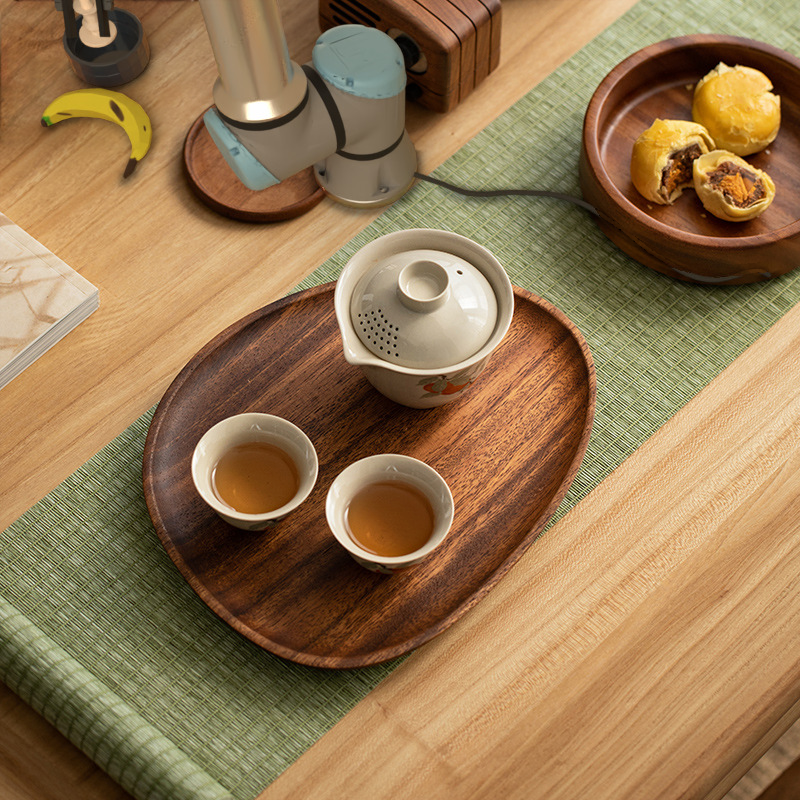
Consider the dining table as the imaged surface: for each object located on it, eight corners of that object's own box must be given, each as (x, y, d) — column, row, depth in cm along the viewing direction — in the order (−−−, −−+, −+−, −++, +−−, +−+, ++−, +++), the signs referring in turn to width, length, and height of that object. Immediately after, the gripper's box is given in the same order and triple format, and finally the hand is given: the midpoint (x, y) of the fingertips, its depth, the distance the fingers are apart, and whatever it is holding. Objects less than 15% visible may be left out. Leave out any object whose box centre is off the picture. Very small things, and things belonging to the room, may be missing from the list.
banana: (39, 81, 138) (25, 170, 134) (151, 79, 137) (141, 169, 133) (52, 99, 143) (39, 186, 139) (161, 97, 141) (151, 185, 137)
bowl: (163, 42, 147) (156, 17, 143) (130, 98, 142) (121, 74, 138) (94, 24, 149) (85, -2, 144) (59, 78, 144) (48, 54, 139)
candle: (75, 46, 131) (50, -15, 121) (85, 19, 133) (61, -43, 123) (111, 49, 130) (89, -11, 121) (121, 22, 132) (99, -39, 123)
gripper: (137, -153, 122) (156, 36, 131) (9, -151, 122) (36, 38, 130) (122, -165, 115) (143, 35, 124) (-14, -164, 115) (17, 37, 123)
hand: (88, 36), depth 127 cm, fingers closed on candle, 4 cm apart
